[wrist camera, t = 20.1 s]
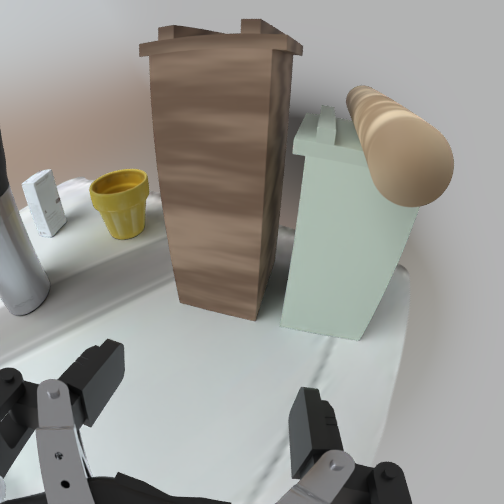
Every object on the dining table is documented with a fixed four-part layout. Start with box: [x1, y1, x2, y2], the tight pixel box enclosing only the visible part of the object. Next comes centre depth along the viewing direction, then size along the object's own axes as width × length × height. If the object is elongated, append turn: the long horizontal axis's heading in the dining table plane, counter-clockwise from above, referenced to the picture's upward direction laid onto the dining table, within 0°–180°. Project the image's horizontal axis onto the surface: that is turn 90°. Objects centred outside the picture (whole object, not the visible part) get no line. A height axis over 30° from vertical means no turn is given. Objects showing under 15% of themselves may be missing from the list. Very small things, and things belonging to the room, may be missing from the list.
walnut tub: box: [139, 19, 303, 321], centre depth 30 cm, size 12×12×31 cm
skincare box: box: [22, 170, 67, 237], centre depth 44 cm, size 6×4×12 cm
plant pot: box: [89, 169, 149, 239], centre depth 45 cm, size 10×10×10 cm
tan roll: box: [346, 86, 454, 207], centre depth 20 cm, size 22×4×4 cm, turn 165°
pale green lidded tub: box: [280, 105, 420, 341], centre depth 30 cm, size 12×12×23 cm
